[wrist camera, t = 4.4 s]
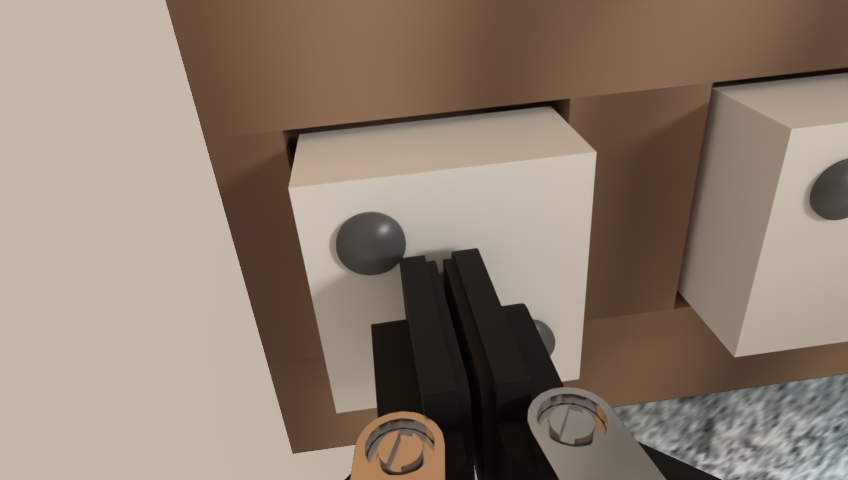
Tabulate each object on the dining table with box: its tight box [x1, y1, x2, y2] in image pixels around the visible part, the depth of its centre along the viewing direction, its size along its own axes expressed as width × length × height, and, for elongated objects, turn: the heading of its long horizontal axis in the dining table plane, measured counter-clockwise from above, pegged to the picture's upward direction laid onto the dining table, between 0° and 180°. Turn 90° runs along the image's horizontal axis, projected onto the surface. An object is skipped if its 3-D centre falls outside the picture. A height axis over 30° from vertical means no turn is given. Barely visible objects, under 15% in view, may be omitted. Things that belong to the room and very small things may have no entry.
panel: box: [166, 0, 848, 454], centre depth 17 cm, size 30×14×3 cm, turn 94°
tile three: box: [288, 106, 597, 413], centre depth 14 cm, size 6×6×3 cm
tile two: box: [677, 73, 848, 357], centre depth 15 cm, size 6×6×3 cm
